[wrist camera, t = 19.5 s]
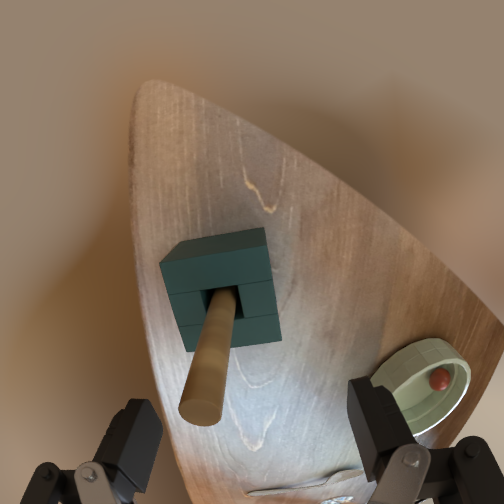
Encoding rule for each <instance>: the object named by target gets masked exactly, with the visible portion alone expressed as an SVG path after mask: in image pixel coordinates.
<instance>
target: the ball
mask: <svg viewBox="0 0 504 504" xmlns="http://www.w3.org/2000/svg"><path fill="white" fill-rule="evenodd" d="M450 380H451V376H450V373H449V371H448V370H446V369H444V368H439V369H436V370H435V371H433V372H432V374H431V375H430V377H429V385H430V387H431V389H433V390H434V391H442V390H444V389H445V388H447V386H448V385H449V383H450Z"/></svg>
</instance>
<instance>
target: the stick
mask: <svg viewBox="0 0 504 504" xmlns="http://www.w3.org/2000/svg"><path fill="white" fill-rule="evenodd" d="M237 293H238V285H232V286H225V287H219V288H215V289H214V292H213V296H212V299H211V302H210V305H209V308H208V311H207V314H206V318H205V321H204V324H203V327H202V330H201V334H200V337H199V340H198V343H197V347H196V350H195V353H194V356H193V360H192V363H191V366H190V370H189V373H188V376H187V380H186V383H185V386H184V390H183V393H182V397H181V400H180V403H179V407H178V410H179V413H180V415H181V417H182V418H183V419H184V420H186V421H187V422H189V423H191V424H194V425H197V426H212V425H214V424H216V423H218V422H219V421H220V420H221V417H222V410H223V402H224V394H225V386H226V378H227V370H228V362H229V354H230V347H231V339H232V331H233V323H234V316H235V308H236V300H237Z"/></svg>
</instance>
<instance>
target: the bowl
mask: <svg viewBox="0 0 504 504" xmlns="http://www.w3.org/2000/svg"><path fill="white" fill-rule="evenodd" d="M439 368H444V369H446V370H448V371H449V373H450V376H451V380H450V383H449V385H448V386H447V388H445V389H444V390H442V391H434V390H433V389H431V387H430V385H429V377H430V375H431V374H432V372H433V371H435V370H436V369H439ZM470 374H471V370H470V367H469V366H468V364H467V362H466V361H465V360H464V359H463V358H462V357H461V355H460V354H459V353H458V352H457V351H456V350H455V349H454V348H453V347H452V346H451V345H450V344H449V343H448V342H446V341H444V340H442V339H439V338H427V339H424V340H421V341H418V342H415V343H412V344H410V345H408V346H406V347H405V348H403V349H401V350H400V351H398V352H396V353H395V354H394V355H393V356H391V357H390V358H389V359H388V360H387V361H386V362H384V363H383V364H382V365H381V366H380V367H379V369H378V370H377V371H376V372H375V374H374V375H373V376H372V377H371V379H370V381H371V383H372V385H373V387H377V386H380V385H383V386H384V387H385V388H387V389H388V390H389V391H390V392H392V394H393V396H394V398H395V400H396V403H397V404H398V406H399V408H400V411H401V412H402V414H403V416H404V418H405V420H406V422H407V424H408V426H409V428H410V430H411V432H412V434H413V436H417V435H419V434H422V433H424V432H425V431H427V430H429V429H431V428H432V427H434V426H435V425H437V424H438V423H439V422H441V421H442V420H443V419H444V418H445V417H447V416H448V415H449V414H450V413H451V412H452V410H453V409H454V408H455V407H456V406H457V405H458V404H459V402H460V401H461V399H462V398H463V396H464V394H465V393H466V391H467V388H468V385H469V382H470Z"/></svg>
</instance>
